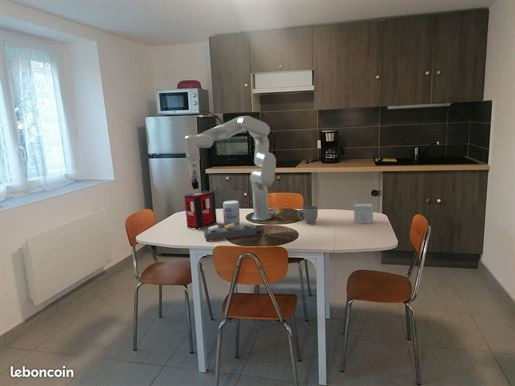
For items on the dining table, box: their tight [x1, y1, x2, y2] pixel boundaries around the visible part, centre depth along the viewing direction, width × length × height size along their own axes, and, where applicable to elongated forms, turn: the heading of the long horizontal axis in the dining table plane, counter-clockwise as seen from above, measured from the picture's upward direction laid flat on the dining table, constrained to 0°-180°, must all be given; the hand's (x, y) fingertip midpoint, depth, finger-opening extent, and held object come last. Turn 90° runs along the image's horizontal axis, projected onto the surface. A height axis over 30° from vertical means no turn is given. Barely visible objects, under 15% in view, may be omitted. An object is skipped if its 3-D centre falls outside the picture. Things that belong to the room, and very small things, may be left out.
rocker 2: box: [240, 221, 252, 226], centre depth 214 cm, size 5×4×1 cm
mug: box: [297, 205, 319, 226], centre depth 229 cm, size 12×9×10 cm
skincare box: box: [353, 203, 374, 225], centre depth 225 cm, size 10×6×10 cm, turn 76°
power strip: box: [203, 223, 265, 242], centre depth 213 cm, size 33×8×5 cm, turn 105°
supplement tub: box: [222, 200, 241, 227], centre depth 232 cm, size 10×10×15 cm
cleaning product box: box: [184, 190, 218, 230], centre depth 236 cm, size 16×9×20 cm, turn 143°
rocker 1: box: [207, 224, 220, 231], centre depth 210 cm, size 5×4×1 cm
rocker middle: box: [224, 223, 235, 229], centre depth 212 cm, size 5×4×1 cm
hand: (195, 187), depth 221 cm, fingers open, 9 cm apart
